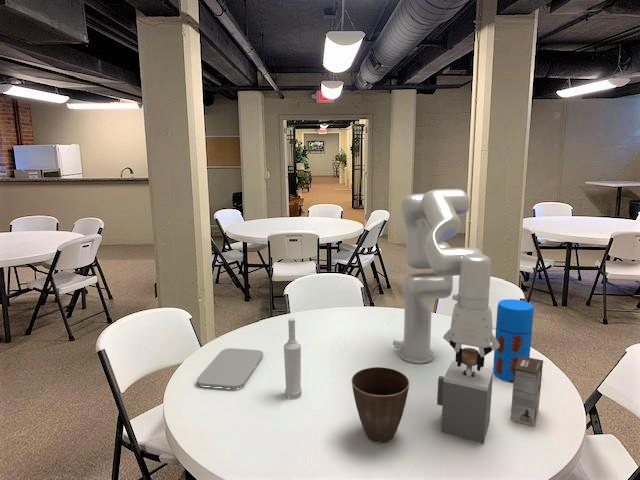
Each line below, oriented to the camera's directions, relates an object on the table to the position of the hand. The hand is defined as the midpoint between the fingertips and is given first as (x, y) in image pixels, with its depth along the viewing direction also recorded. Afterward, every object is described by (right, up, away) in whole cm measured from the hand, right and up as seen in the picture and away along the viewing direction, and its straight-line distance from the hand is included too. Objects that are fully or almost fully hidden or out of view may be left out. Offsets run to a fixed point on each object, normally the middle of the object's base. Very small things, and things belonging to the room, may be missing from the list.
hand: (469, 365), depth 122 cm
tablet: (-71, -12, +37) cm, 81 cm away
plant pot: (-24, -19, +1) cm, 31 cm away
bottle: (-48, -15, +21) cm, 55 cm away
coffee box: (+19, -17, +9) cm, 27 cm away
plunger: (0, -14, +3) cm, 15 cm away
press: (-1, -18, +4) cm, 18 cm away
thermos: (+24, -12, +31) cm, 41 cm away
